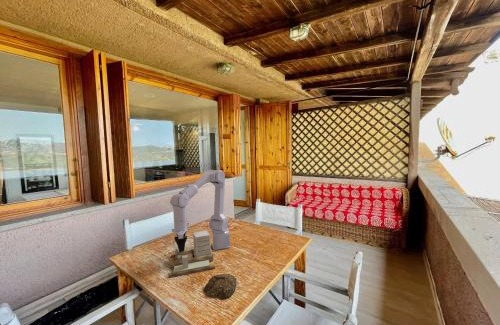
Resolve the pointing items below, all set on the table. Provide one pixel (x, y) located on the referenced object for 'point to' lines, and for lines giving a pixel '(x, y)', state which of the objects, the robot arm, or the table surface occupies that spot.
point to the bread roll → (221, 286)
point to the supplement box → (201, 243)
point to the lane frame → (190, 270)
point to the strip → (190, 265)
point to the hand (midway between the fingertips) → (181, 247)
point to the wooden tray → (190, 256)
